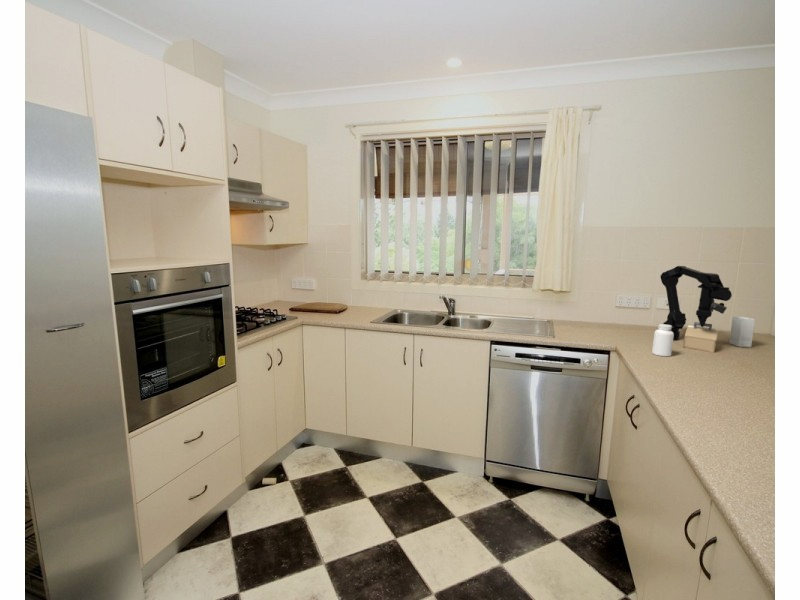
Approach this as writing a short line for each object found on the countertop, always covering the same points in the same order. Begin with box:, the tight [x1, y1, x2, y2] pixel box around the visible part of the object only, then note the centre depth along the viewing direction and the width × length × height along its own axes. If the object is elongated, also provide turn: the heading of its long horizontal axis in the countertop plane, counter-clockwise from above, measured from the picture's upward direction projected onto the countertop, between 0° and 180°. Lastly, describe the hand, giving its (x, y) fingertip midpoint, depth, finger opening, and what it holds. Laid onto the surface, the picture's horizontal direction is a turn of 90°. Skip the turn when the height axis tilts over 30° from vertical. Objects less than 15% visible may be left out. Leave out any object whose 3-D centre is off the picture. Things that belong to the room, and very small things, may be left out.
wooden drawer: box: [682, 335, 718, 353], centre depth 207 cm, size 13×11×6 cm
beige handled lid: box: [684, 321, 719, 342], centre depth 205 cm, size 13×11×4 cm
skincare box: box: [728, 315, 756, 348], centre depth 213 cm, size 8×7×16 cm
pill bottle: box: [651, 323, 674, 357], centre depth 192 cm, size 8×8×15 cm
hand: (702, 326), depth 206 cm, fingers open, 3 cm apart
